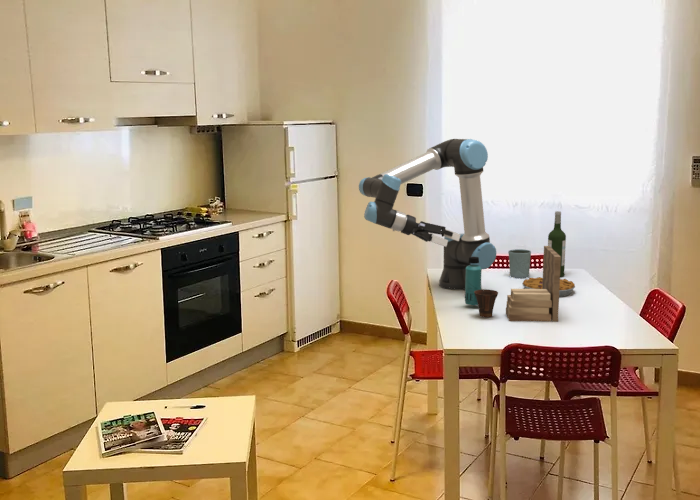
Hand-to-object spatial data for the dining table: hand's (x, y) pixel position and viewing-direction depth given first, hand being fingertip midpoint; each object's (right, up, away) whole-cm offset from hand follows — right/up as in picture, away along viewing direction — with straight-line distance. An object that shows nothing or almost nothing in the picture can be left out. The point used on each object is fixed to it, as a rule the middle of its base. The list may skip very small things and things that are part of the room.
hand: (453, 240), depth 293 cm
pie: (+44, -22, +23) cm, 54 cm away
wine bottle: (+55, -16, +53) cm, 78 cm away
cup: (+10, -29, -13) cm, 33 cm away
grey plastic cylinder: (+38, -16, +52) cm, 67 cm away
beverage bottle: (+8, -26, 0) cm, 27 cm away
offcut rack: (+27, -28, -10) cm, 40 cm away
